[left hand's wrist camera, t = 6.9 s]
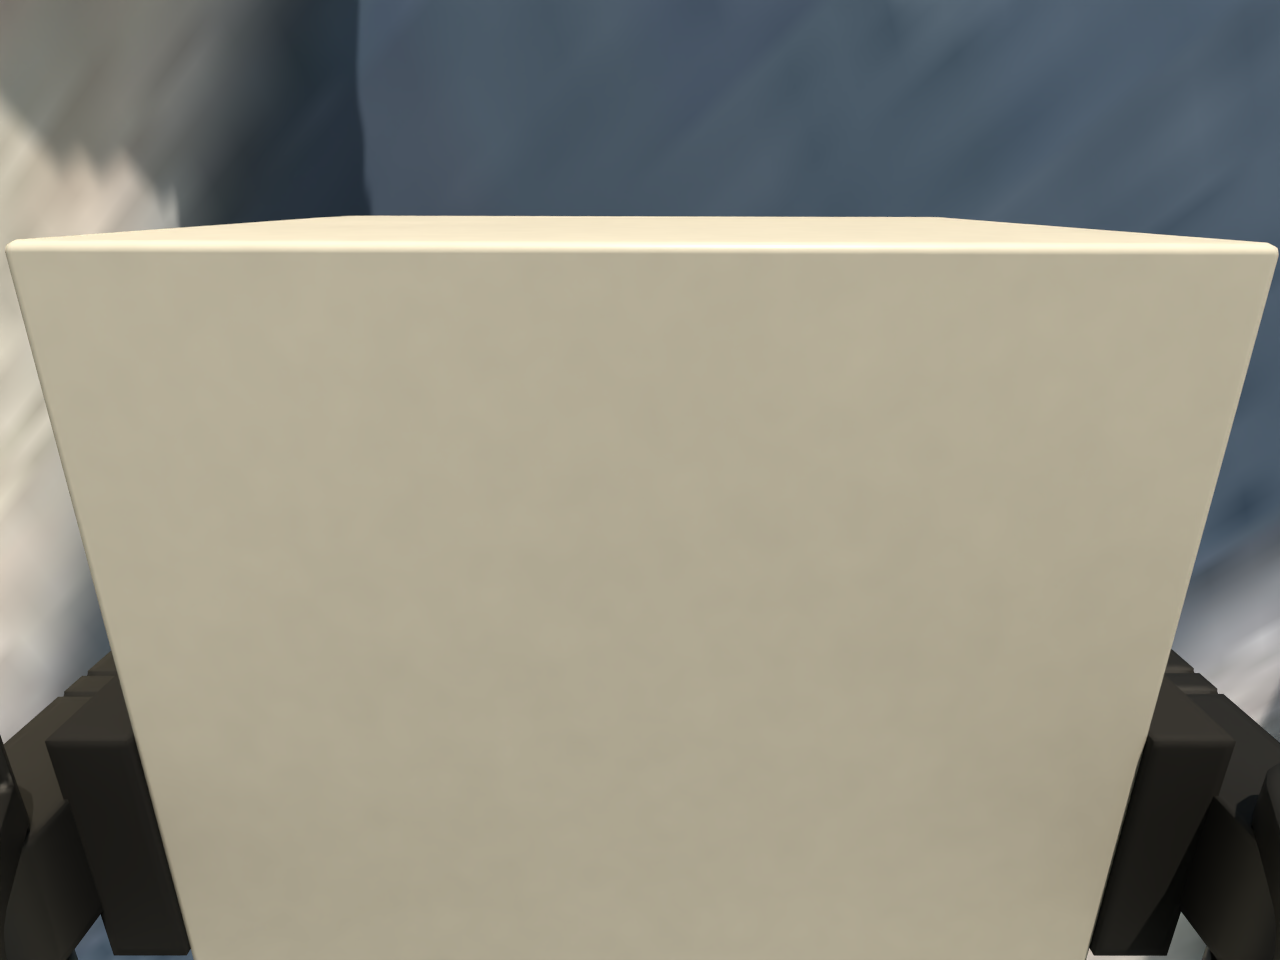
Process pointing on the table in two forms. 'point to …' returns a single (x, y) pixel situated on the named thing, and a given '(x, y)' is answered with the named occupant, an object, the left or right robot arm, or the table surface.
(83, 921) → the left robot arm
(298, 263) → the wide beam
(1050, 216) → the table surface
